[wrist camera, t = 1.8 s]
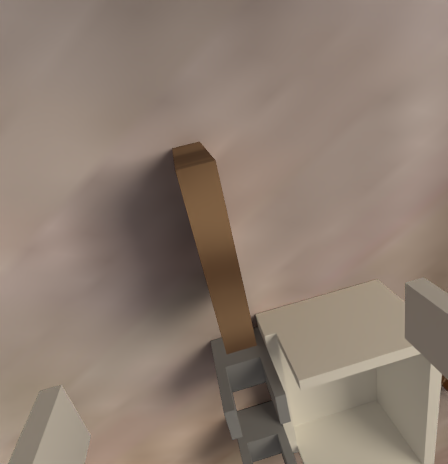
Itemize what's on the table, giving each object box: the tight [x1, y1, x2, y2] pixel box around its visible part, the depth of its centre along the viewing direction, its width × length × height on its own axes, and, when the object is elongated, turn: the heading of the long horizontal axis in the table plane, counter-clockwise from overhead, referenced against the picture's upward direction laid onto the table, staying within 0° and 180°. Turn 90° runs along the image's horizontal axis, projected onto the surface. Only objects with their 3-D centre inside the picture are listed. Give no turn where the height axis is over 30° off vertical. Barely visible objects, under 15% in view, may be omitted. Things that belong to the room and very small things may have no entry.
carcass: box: [211, 279, 442, 464], centre depth 29 cm, size 16×17×8 cm
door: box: [172, 142, 257, 354], centre depth 22 cm, size 12×2×8 cm, turn 12°
